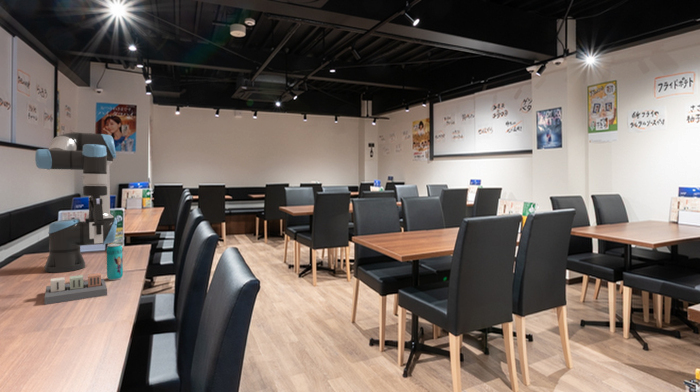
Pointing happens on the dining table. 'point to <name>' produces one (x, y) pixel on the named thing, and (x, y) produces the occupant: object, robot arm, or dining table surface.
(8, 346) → the dining table surface
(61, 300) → the tile board
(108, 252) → the beverage can
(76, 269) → the robot arm
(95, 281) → the orange cube
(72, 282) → the tile two bar
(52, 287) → the cream cube
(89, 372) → the dining table surface
